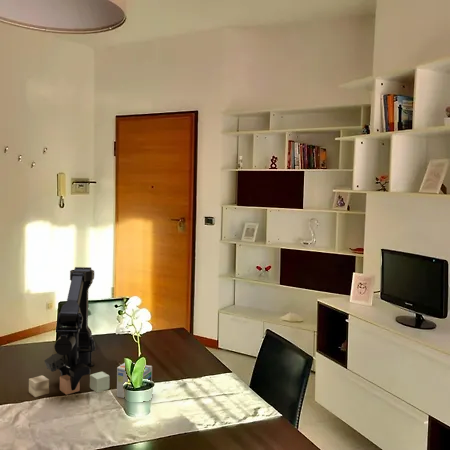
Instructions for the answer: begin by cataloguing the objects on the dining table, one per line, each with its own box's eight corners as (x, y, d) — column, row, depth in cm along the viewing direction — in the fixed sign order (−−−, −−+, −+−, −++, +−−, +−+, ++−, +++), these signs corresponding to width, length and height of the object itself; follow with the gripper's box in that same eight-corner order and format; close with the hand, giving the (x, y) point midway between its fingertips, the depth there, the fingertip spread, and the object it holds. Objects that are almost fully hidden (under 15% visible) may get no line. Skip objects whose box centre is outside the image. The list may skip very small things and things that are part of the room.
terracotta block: (72, 386, 190) (72, 372, 190) (79, 390, 187) (79, 377, 186) (59, 390, 187) (59, 376, 186) (66, 394, 183) (66, 380, 183)
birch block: (42, 388, 188) (42, 375, 187) (49, 393, 184) (49, 379, 184) (28, 392, 184) (28, 378, 184) (35, 397, 181) (35, 383, 180)
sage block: (102, 384, 193) (102, 371, 192) (109, 389, 189) (109, 375, 189) (89, 388, 190) (89, 374, 189) (96, 392, 186) (97, 379, 185)
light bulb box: (152, 394, 186) (153, 365, 185) (143, 402, 180) (144, 372, 178) (125, 389, 189) (126, 360, 188) (115, 397, 183) (116, 367, 182)
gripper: (35, 342, 186) (36, 385, 188) (61, 357, 173) (60, 403, 174) (65, 336, 194) (65, 377, 195) (91, 350, 180) (91, 394, 182)
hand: (69, 387), depth 187 cm, fingers closed on terracotta block, 5 cm apart
